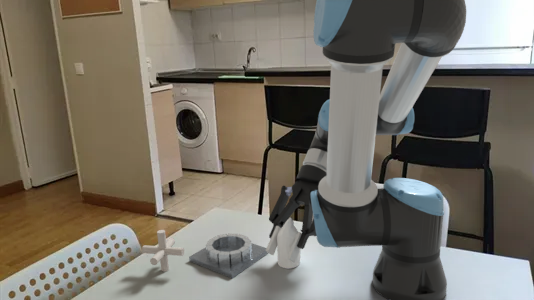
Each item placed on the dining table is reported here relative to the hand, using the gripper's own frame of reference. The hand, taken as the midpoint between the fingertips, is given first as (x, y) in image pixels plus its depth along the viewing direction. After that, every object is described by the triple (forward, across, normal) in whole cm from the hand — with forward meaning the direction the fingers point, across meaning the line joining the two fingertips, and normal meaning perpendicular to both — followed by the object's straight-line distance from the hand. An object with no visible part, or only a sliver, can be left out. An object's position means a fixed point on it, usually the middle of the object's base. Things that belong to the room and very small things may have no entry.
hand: (280, 256), depth 102 cm
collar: (+4, +14, -1) cm, 15 cm away
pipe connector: (+13, +23, +8) cm, 28 cm away
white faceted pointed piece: (0, 0, -5) cm, 5 cm away
